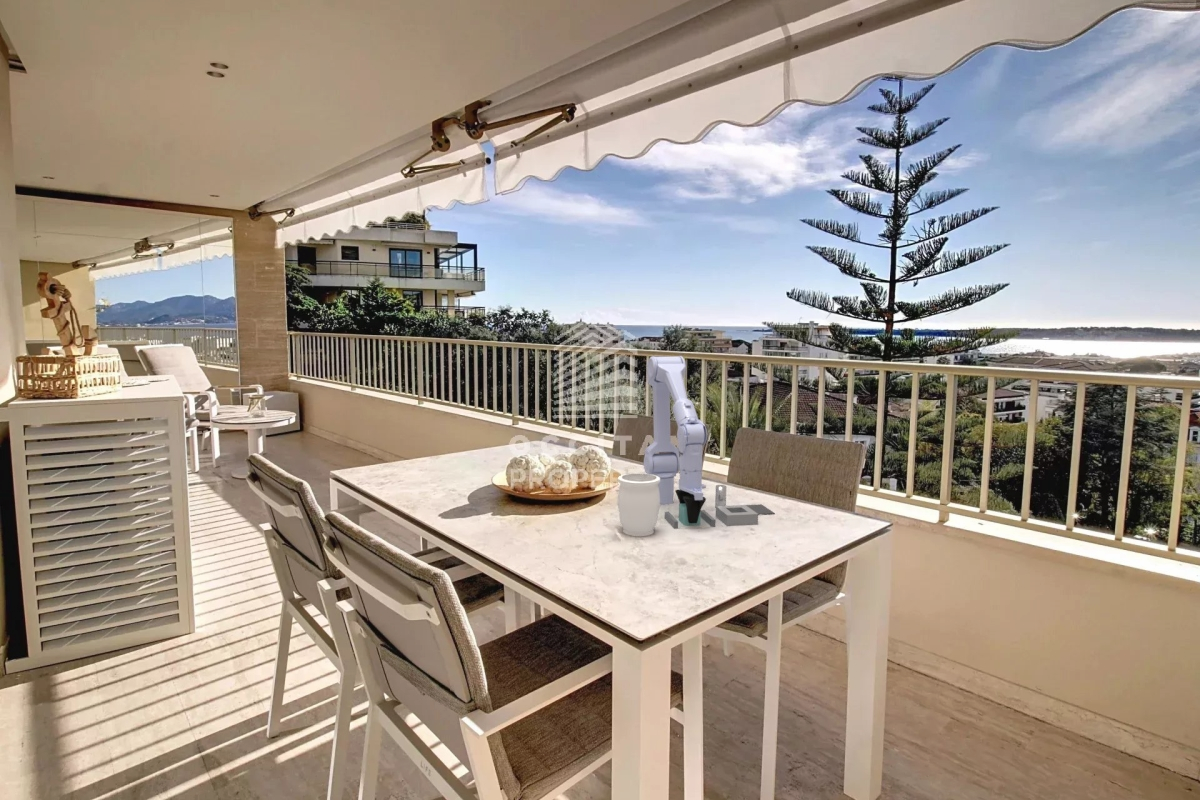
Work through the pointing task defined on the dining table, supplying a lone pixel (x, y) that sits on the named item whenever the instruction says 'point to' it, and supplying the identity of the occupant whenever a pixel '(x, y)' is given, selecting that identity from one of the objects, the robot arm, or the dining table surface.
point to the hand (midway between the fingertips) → (689, 519)
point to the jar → (638, 503)
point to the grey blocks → (720, 517)
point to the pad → (760, 509)
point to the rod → (720, 495)
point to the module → (684, 518)
